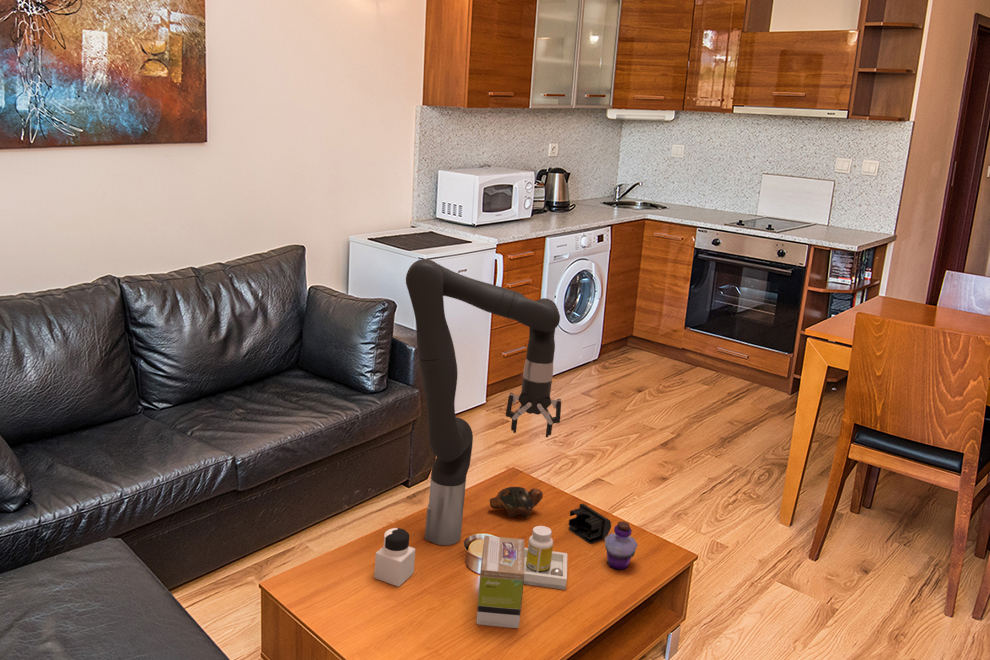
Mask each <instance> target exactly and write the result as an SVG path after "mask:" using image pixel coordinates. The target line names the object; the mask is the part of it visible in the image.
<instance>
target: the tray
mask: <svg viewBox="0 0 990 660" xmlns="http://www.w3.org/2000/svg"><path fill="white" fill-rule="evenodd" d="M527 552H528V547H524V584H523V585H527V586H534V587H542V588H549V589H555V590H557V589H558V590H564V591H566V589H567V581H568V553H567V552H561V551H553V550H552V558H551V566H550V571H549V572H548V573H547V574H541V573H534V572H529V571H528V570H527V568H526V561H527ZM554 568H559V569H561V570H562V572H563V576H556V575H551V571H552V569H554Z"/></svg>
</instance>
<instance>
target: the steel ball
mask: <svg viewBox="0 0 990 660" xmlns="http://www.w3.org/2000/svg"><path fill="white" fill-rule="evenodd" d="M551 575H556V576H563V572H562V570H561V569H559V568H554V569H552V571H551Z"/></svg>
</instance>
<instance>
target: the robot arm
mask: <svg viewBox="0 0 990 660" xmlns="http://www.w3.org/2000/svg"><path fill="white" fill-rule="evenodd" d="M405 284H406V288H407V292H408V295H409V298H410V301H411V305H412V309H413V314H414V317H415V325H416V326H415V327H416V328H415V329H416V332H415V333H416V345H417V354H418V355H417V356H418V363H419V368H420V369H419V370H420V372H421V379H422V385H423V390H424V395H425V397H424V398H425V402H426V407H427V418H428V420H427V421H428V422H427V423H428V437H429V439H428V440H429V446H430V448H431V451H432V453H433V455H434V456H435V457H436V458H435V460H434V463H433V465H432V467H431V470H430V471H431V472H430V474H431V475H430V484H429V496H428V498H429V499H428V504H427V508H426V517H425V531H424V541H429V542H431V543H433V544H435V545H439V546H451V545H454V544H456V543H458V542H460V540H461V537H462V536H461V535H462V528H463V527H462V525H463V517H464V516H463V515H464V506H465V505H464V504H465V495H466V493H465V492H466V483H467V474H468V471H469V468H470V465H471V460H472V459H471V458H472V452H473V451H472V450H473V443H474V442H473V441H474V436H473V435H474V433H473V431H472V427H471V425H470V424H469V423H468V422H467V421H466V420H465V419H463V418H461V417H457V416H456V411H455V408H456V407H455V406H456V405H455V401H456V399H455V398H456V392H457V387H458V386H457V385H458V363H457V356H456V351H455V347H454V341H453V338H452V335H451V331H450V328H449V324H448V322H447V320H446V313H445V303H444V297H448V298H452V299H455V300H457V301H461V302H463V303H465V304H468V305H471V306H473V307H475V308H477V309H480V310H482V311H484V312H487V313H488V314H489V313H490V314H493V315H496V316H500V317H502V318H506V319H510V320H513V321H515V322H518V323H519V324H522V325H524V326H526V327H527V328H528V327H529V332H528V333H529V335H528V342H527V347H526V348H527V349H526V357H525V362H524V367H523V375H522V381H521V382H522V383H521V391H520V394H519V395H518V394H514V392H510V393H509V394H508V399H507V405H506V410H505V417H506V418H510V419H511V426H510V430H511V431H512V433H513V434H516V432H517V427H518V418H519V417H521V416H522V415H523V414H524V413H527V414H529V415H531V414H534V415H542V417H543V418H544V419H545V421H546V422H547V423H546V428H545V429H546V430H545V438H549V436H551V435H552V433H553V432H552V431H553V425H554V424H560V423H561V412H562V410H561V409H562V399H561V398H558V399H552V398H551V392H552V390H551V389H552V383H553V376H554V358H555V351H556V341H555V333H556V329H557V327H558V326H559V324H560V320H561V315H560V312H559V309H558V306H557V304H556V302H554V301H553V300H552V299H549V298H547V297H546V298H545V297H543V298H540V299H538V300H533V299H530V298H527V297H526V296H525V295H524V294H522V292H521V293H520V292H518V291H516V290H513V289H509V288H505V287H503V286H499V285H496V284H492V283H488V282H484V281H481V280H478V279H474V278H471V277H468V276H465V275H463V274H460V273H458V272H455V271H453V270H450V269H449V268H446V267H444V266H443V265H441V264H439V263H437V262H435V261H434V260H432V259H425V258H424V259H423V258H422V259H419V260H416V261H415V262H413V263H412V264H411V265H410V266H409V268H408V270H407V271H406V275H405ZM517 401H518V402H519V404H520V406H518V408H517V409H516V410H515V411H512V408H513V404H516V402H517ZM551 405H552V408H554V409H555V416H552V415H551V412H550V409H548V408H549V407H550V406H551Z"/></svg>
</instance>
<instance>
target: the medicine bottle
mask: <svg viewBox="0 0 990 660" xmlns="http://www.w3.org/2000/svg"><path fill="white" fill-rule="evenodd" d="M383 535H384V537H383V546H382V547H381V548H380V549H378V550H377V551H376V552H375V556H374V557H375V559H374V579H376V580H378V581H382V582H385V583H386V584H390V585H392V586H395V587H400V586H401V585H403V584H404V583H405V582H406V581H407V580H408V579H409V578H410V577H411V576H412V575H413V574H414V571H415V562H416V561H415V559H416V548H415V547H412V546H410V545H409V544H410V533H409V532H408V531H407V530H406V529H405V528H404V529H403V528H401V527H400V528H399V527H392V528H390V529H387V530H386V531H385V532H384V534H383Z"/></svg>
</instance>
